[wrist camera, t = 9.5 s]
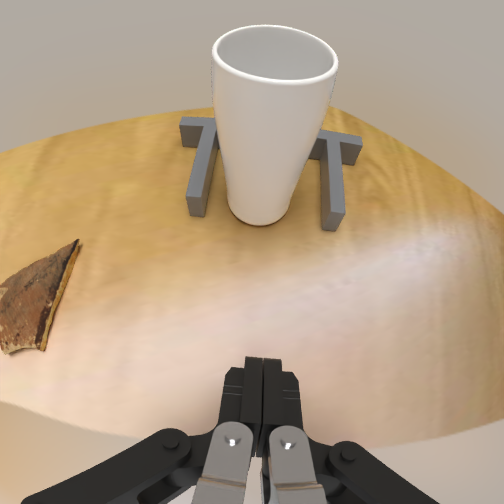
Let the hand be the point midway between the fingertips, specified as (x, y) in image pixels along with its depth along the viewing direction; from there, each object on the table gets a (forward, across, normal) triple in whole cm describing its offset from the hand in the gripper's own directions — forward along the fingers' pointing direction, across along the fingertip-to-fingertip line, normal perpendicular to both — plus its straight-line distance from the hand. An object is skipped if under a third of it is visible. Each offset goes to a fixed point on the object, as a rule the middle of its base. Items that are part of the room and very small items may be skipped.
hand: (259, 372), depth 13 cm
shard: (+10, +20, +5) cm, 23 cm away
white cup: (+17, +1, -3) cm, 18 cm away
